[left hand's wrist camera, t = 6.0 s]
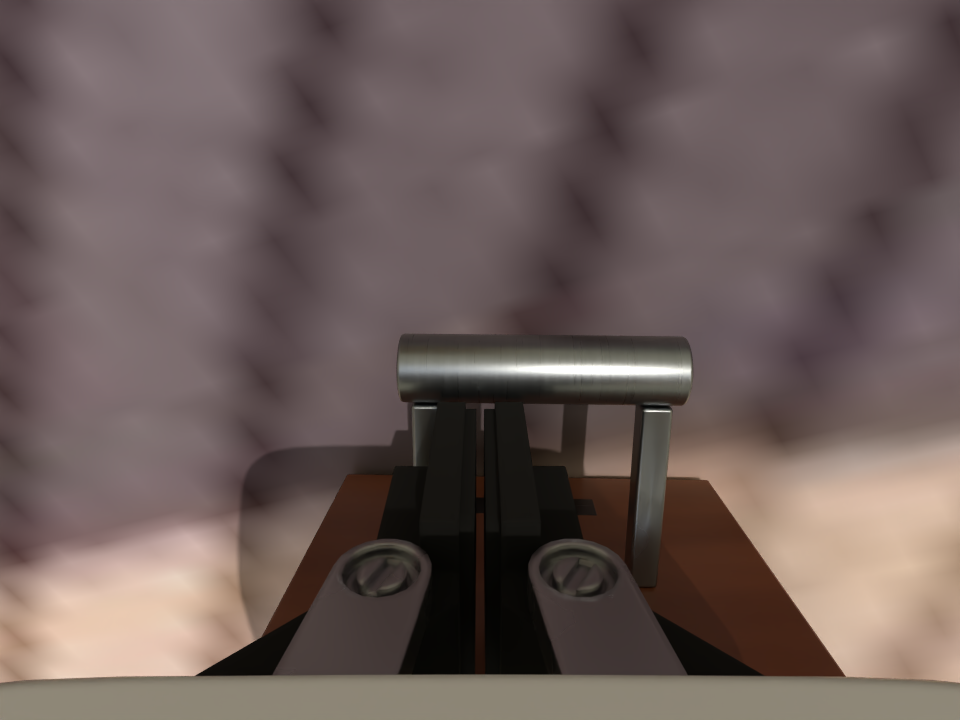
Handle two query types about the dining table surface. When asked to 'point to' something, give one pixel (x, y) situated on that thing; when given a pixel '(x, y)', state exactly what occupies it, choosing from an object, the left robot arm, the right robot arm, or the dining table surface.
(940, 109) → the dining table surface
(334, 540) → the drawer
